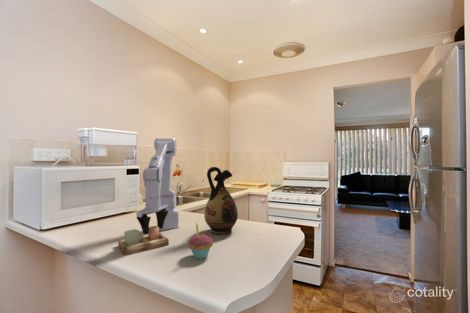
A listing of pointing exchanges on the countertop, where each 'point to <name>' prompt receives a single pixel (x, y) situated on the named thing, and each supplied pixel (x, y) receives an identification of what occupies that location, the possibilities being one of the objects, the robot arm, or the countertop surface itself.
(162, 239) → the pocket board
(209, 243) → the cupcake
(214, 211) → the ceramic jug
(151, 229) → the terracotta dowel
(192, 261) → the countertop surface
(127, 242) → the sage cube
